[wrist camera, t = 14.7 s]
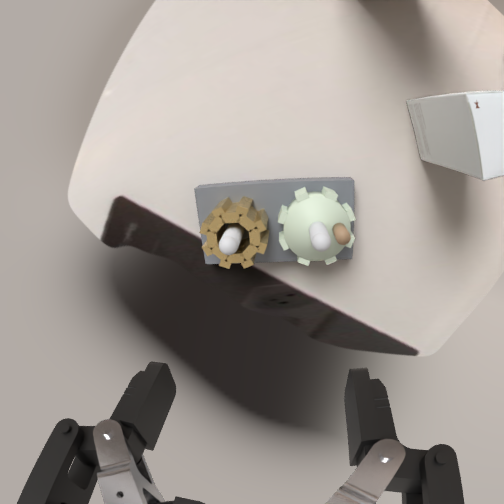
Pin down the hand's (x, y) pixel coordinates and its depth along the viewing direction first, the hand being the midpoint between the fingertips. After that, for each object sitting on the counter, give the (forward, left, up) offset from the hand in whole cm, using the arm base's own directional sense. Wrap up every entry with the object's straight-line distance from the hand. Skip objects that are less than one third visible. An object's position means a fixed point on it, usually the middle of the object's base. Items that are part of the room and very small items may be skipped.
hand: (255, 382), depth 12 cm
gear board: (0, 0, -24) cm, 24 cm away
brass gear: (+4, 0, -22) cm, 22 cm away
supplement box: (-20, -11, -24) cm, 33 cm away
